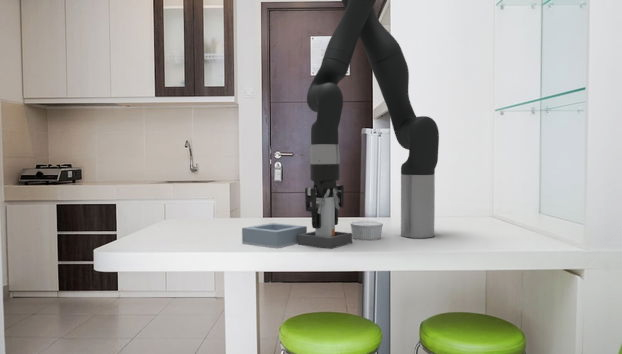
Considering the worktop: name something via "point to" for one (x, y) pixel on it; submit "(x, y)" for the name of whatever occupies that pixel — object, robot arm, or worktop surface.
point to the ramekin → (366, 230)
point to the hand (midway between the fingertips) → (325, 226)
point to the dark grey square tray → (324, 240)
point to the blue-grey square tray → (272, 235)
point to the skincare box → (327, 218)
